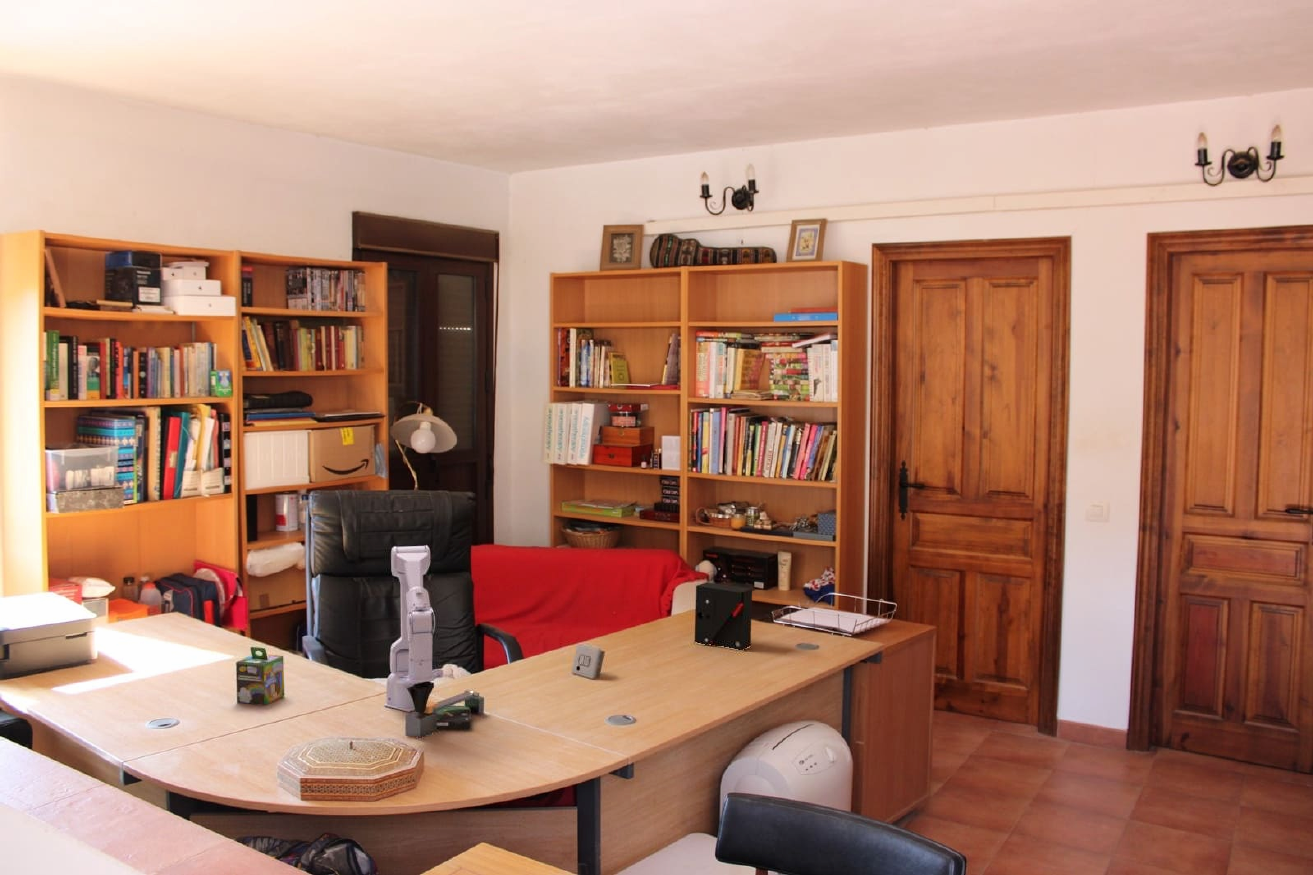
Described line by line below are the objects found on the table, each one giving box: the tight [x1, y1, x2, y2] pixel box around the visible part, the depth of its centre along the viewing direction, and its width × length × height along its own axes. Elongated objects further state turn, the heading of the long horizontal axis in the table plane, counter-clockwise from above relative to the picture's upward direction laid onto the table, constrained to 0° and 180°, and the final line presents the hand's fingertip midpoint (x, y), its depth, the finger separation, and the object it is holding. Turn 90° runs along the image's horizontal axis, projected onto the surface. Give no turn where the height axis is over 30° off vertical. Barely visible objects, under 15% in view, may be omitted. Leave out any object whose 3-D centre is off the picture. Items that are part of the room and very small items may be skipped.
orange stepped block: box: [424, 700, 438, 714], centre depth 271 cm, size 4×4×2 cm
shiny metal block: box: [404, 695, 485, 739], centre depth 277 cm, size 5×24×5 cm, turn 149°
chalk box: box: [235, 646, 285, 707], centre depth 293 cm, size 9×9×15 cm
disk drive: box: [435, 705, 472, 732], centre depth 279 cm, size 10×3×15 cm
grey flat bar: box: [432, 689, 480, 713], centre depth 278 cm, size 4×18×1 cm, turn 149°
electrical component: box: [694, 582, 753, 651], centre depth 363 cm, size 18×10×20 cm, turn 58°
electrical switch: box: [571, 642, 606, 680], centre depth 324 cm, size 9×5×9 cm, turn 49°
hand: (420, 711), depth 269 cm, fingers closed
